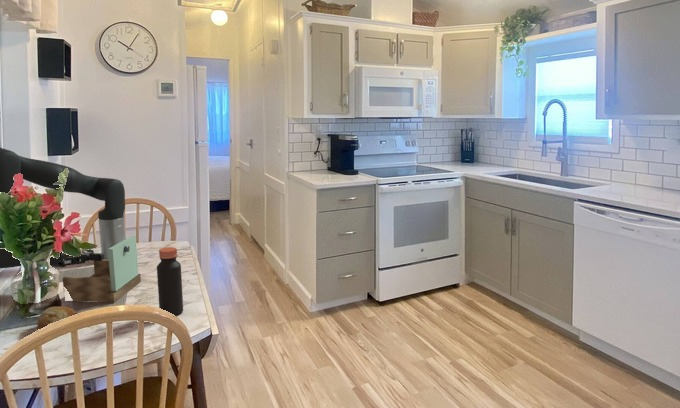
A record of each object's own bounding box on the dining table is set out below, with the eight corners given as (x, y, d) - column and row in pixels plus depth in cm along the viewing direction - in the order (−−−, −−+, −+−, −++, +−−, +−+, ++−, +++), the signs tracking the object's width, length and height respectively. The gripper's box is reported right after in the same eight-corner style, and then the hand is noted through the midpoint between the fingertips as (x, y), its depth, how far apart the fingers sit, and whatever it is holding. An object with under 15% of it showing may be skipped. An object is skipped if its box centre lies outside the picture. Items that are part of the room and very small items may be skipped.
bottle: (157, 311, 143) (153, 248, 139) (179, 306, 147) (176, 245, 143) (162, 319, 138) (158, 254, 134) (186, 314, 141) (182, 250, 138)
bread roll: (41, 336, 134) (24, 316, 130) (76, 313, 139) (60, 293, 136) (51, 349, 127) (33, 328, 123) (86, 324, 132) (70, 303, 129)
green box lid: (111, 291, 150) (107, 249, 147) (134, 274, 166) (131, 235, 163) (119, 291, 150) (115, 249, 147) (141, 274, 165) (138, 236, 163)
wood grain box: (64, 301, 149) (62, 277, 148) (96, 280, 168) (94, 259, 166) (114, 302, 149) (112, 278, 147) (140, 281, 168) (139, 260, 166)
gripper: (37, 250, 149) (90, 252, 149) (62, 239, 162) (111, 240, 162) (39, 273, 151) (92, 274, 150) (64, 260, 164) (113, 261, 163)
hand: (102, 257), depth 156 cm, fingers closed
